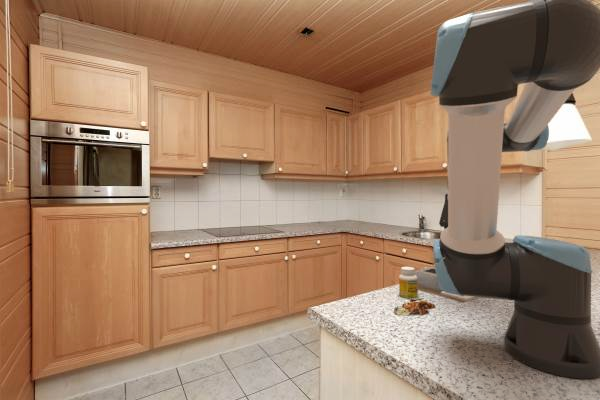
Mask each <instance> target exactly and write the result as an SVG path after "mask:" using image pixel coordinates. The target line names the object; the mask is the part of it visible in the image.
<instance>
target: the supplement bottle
mask: <svg viewBox="0 0 600 400" xmlns="http://www.w3.org/2000/svg"><path fill="white" fill-rule="evenodd" d="M415 270H416V269H415V267H413V266H402V267H400V272H401V274H399V276H398V282H399V283H398V286H399V287H398V289H399V296H400V297H401V298H402V299H403V298H404V299H410V300H411V299H417V298H419V297H418V296H419V295H418V294H419V293H418V291H419V290H418V282H417V276H416V275H415V274H414V273H415Z"/></svg>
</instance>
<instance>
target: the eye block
mask: <svg viewBox="0 0 600 400" xmlns="http://www.w3.org/2000/svg"><path fill="white" fill-rule="evenodd" d="M414 274H415V275H416V276H417V282H418V287H421V288H425V289H429V290H432V291H436V292H440V293H441V292H442V291H443V290H441V288H440V287H439V284H438V280H437V276H436V269H435V266H427V267H423V268H420V269H415V273H414Z"/></svg>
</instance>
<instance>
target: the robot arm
mask: <svg viewBox="0 0 600 400" xmlns="http://www.w3.org/2000/svg"><path fill="white" fill-rule="evenodd" d="M434 52H435V53H434V60H433V61H434V62H433V67H432V68H433V69H432V77H431V85H430V86H431V87H430V95H431V96H432V97H433V96H434V98H435V97H438V99H439V104H438V105H439V107H440V108H441V109H443V110H444V112H446V113H447V114H448V119H447V120H448V127H447V128H448V129H447V134H446V135H447V136H446V153H447V169H446V170H447V178H448V179H447V191H448V192H447V193H445V194H444V204H443V207H442V210H441V215H440V219H439V222H438V223H439V226H440V227H441V228H444V229H443V230H442V231H441V233H440V236H439V237H440V238H438V239H434V240H433V243H432V246H433V247H432V249H433V258H434V267H435V269H436V276H437V280H438V284H439V287H440V288H441V290H443V291H444V292H446V293H450V294H456V295H460V296H464V295H465V296H475V297H476V298H484V299H485V298H486V299H496V300H504V301H513V302H514V303H513V304H514V307H513V309H514V310H513V312H512V316H511V319H510V321H509V324H508V326H507V327H506V331H505V333H504V339H503V340H504V341H503V342H504V346H503V347H504V349H505V351H506V352H507V353H508V354H509V355H511V357H513V358H514V359H516V360H518V361H519V362H520V363H523V364H524V365H527V366H529V367H532V368H533V369H536V370H539V371H541V372H544V373H548V374H552V375H555V376H560V377H566V378H573V379H584V380H585V379H596V378H599V377H600V344H599V342H598V339H597V337H596V335H595V332H594V329H593V328H592V274H593V270H592V263H591V255H590V251H588V249H587V248H585V247H584V246H582V245H580V244H577V243H573V242H569V241H564V240H558V239H553V238H548V237H540V236H534V235H533V236H532V235H519V234H517V235H514V237H513V239H512V242H506V239H505V236H504V235H503V234H502V233H501V232H500V231H499V230H497V225H498V216H499V215H498V214H499V213H498V212H499V211H498V210H499V202H500V201H499V199H500V185H501V169H502V157H503V156H502V155H503V154H502V153H514V152H531V151H538V150H539V151H540V150H542V149H545V147H546V146H547V144H548V142H549V136H550V128H549V123H550V122H551V121H552V120H553V118H554V117H555V116H556V115H557V113H558V112H559V110H560V109H561V108H562V107H563V105H564V104H565V102H566V101H567V100H568V99H569V98H570V97H571V95H572V94H573V92H574V91H575V90H576V89H578V88H580V87H582V86H584V85H585V84H587V83H589V82H590V81H591V79H592V78H593V77H594V76H595V75H597V73H598V72H599V70H600V8H599V7H598V6H597V5H596V4H594V3H593V2H592V1H590V0H527V1H523V2H519V3H517V2H516V3H514V4H508V5H504V6H500V7H495V8H493V7H492V8H489V9H484V10H480V11H476V12H475V11H474V12H469V13H467V14H465V15H462V16H458V17H455V18H452V19H449V20H446V21H445V22H443V23H442V24H441V25H440V27H439V28H438V30H437V34H436V42H435V51H434ZM521 84H524V86H523V88H522V90H521V93H520V95H519V97H518V91H519V90H518V89H519V88H518V87H519V85H521ZM516 99H517V101H516V103H515V105H514V107H513V110H512V112H511V114H510V117H509V118H508V119H507V120H508V121H507V123H505V111H506V108H507V107H508V106H509V105H510V104H511V103H512V102H513V101H515V100H516Z"/></svg>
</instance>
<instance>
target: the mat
mask: <svg viewBox="0 0 600 400" xmlns="http://www.w3.org/2000/svg"><path fill="white" fill-rule="evenodd" d="M441 294H443V295H447V296H450V297H454V298H457V299H461V300H465V301H466V302H468V300H469V301H471V300H474V299H476V298H477V297H475V296H465V295H464V296H460V295H456V294H450V293H446V292H444V291H442V292H441ZM473 298H474V299H473Z"/></svg>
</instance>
